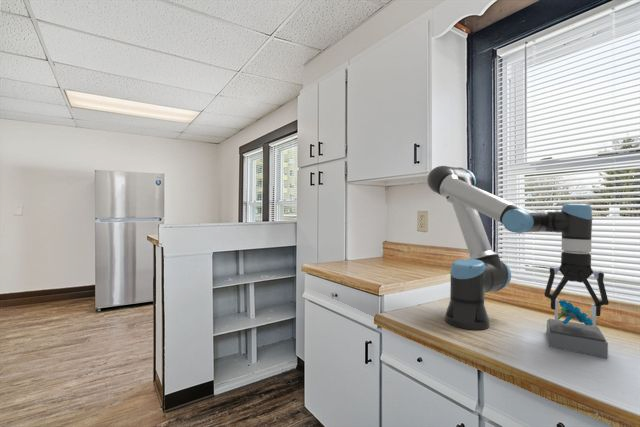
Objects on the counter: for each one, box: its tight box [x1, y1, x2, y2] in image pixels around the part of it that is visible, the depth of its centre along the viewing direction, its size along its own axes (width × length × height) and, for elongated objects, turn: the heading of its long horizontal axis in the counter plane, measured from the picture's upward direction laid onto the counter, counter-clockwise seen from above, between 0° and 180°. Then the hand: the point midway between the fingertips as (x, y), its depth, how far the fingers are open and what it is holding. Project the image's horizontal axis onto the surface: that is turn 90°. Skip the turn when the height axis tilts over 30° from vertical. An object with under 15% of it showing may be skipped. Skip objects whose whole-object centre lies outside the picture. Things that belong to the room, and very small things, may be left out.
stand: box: [546, 318, 609, 359], centre depth 104 cm, size 14×15×5 cm
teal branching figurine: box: [558, 299, 593, 326], centre depth 104 cm, size 11×6×10 cm
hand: (574, 322), depth 104 cm, fingers closed on teal branching figurine, 9 cm apart
